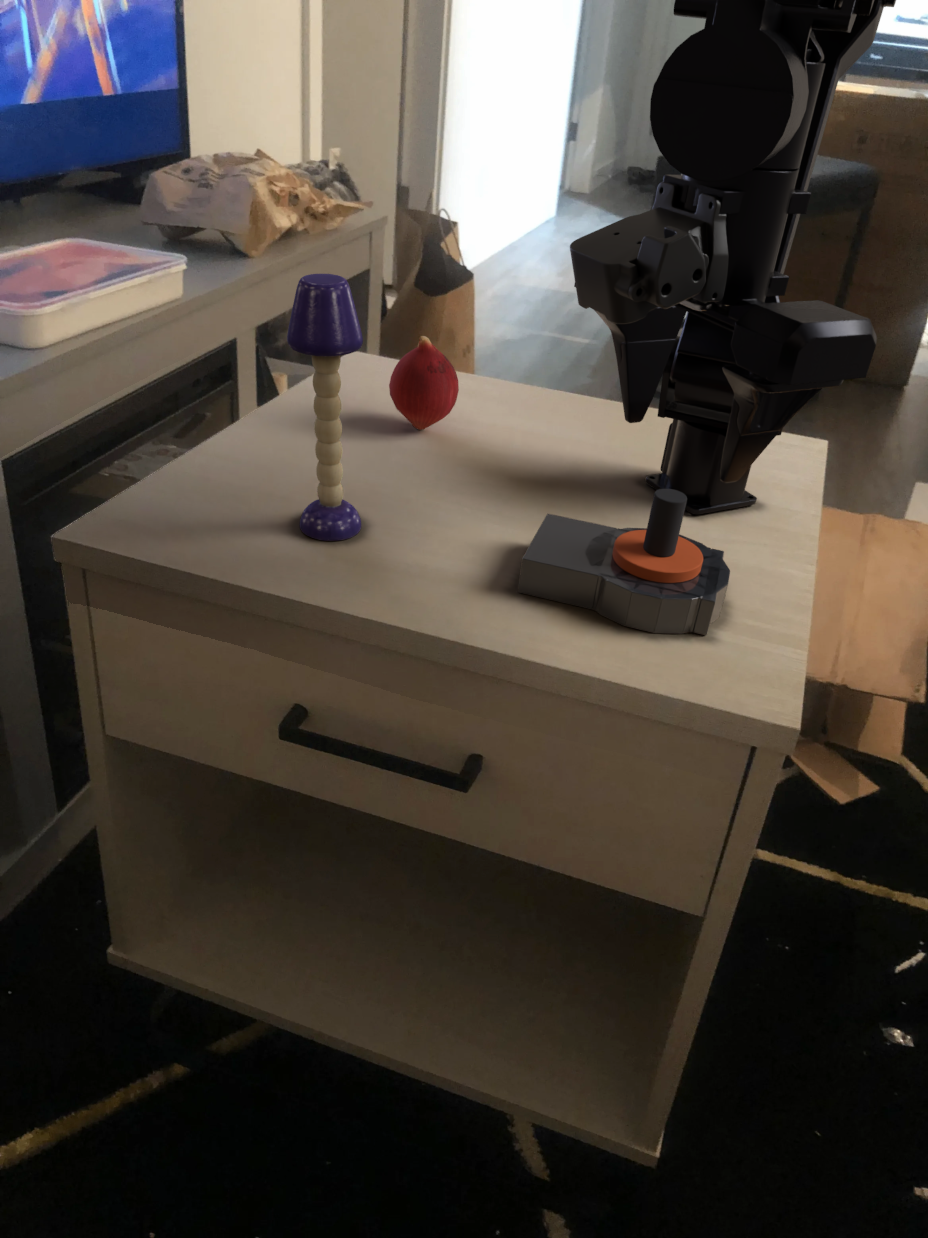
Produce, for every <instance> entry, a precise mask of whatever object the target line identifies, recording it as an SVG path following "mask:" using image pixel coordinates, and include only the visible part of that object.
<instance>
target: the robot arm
mask: <svg viewBox="0 0 928 1238" xmlns="http://www.w3.org/2000/svg"><path fill="white" fill-rule="evenodd" d="M896 2H897V0H674V4H673V15H674V16H675V17H681V18H690V19H702V20H705V21H704V27H703V28H702V29H700V30H698V31H697V32H696V31H695V32H694V33H692V34H691V35H689V36H688V37H687V38H686V39H685V40H684V41H682V42H681V43H680V44H678V46H676V47H675V49H674V50H673V51H672V52H671V54H670V56H669V57H668V58H667V59H666V60H665V62H664V64H663V65H662V67H661V70H660V72H659V74H658V76H657V77H656V80H655V81H654V84H653V86H652V92H651V96H650V104H649V111H650V112H649V121H650V126H651V132H652V136H653V139H654V141H655V143H656V146H657V148H658V150H659V152H660V154H661V155H662V156H663V157H664V159H665V160H666V162H667V163H668V164H669V165H670V166H671V167H672V168H674V169H675V170H677V172H679V173H680V174H663V178H662V181H661V182H660V183H659V184H658V185H657V187H656V193H655V197H654V203H653V205H652V208H651V209H650V210H647V211H644V212H642V213H639V214H633V215H629V216H627V217H626V216H625V217H624V218H622V219H619V220H616V221H614V222H612V223H611V224H608V225H606V226H603V227H601V228H599V229H597V230H595V231H594V230H593V231H592V232H589V233H588V234H585V235H584V236H583V235H582V236H581V237H579V238H577V239H574V240H573V241H572V242H571V243H570V244H569V251H570V257H571V265H572V271H573V278H574V288H575V290H576V298H577V303H578V306H580V307H581V308H583V309H585V310H588V309H592V310H593V312H595V313H596V314H597V316H598V317H599V318H600V320H602V321H603V322H604V323H605V325H606V326H607V327H608V329H609V331H610V334H611V339H612V343H613V347H614V348H613V349H614V352H615V358H616V359H615V360H616V364H617V371H618V378H619V386H620V387H619V388H620V392H621V394H620V395H621V400H622V401H621V402H622V408H623V414H624V420H625V421H626V422H627V423H628V424H637V423H641V422H642V421H643V419H644V418H645V416H646V414H647V412H648V409H649V408H650V405H651V404H652V401H653V399H654V397H655V394H656V392H657V389H658V386H659V384H660V382H661V385H660V392H659V400H658V402H659V403H658V409H657V418H662V419H665V418H667V419H671V420H672V422H671V423H670V424H669V426H668V431H667V434H666V435H667V436H666V440H665V445H664V450H663V455H662V458H661V464H660V473H655V474H648V475H646V476H645V480H644V482H645V483H646V484H647V485H648V486H649V487H651V488H653V489H654V490H655V491H657V490H659V489H673V490H677V491H680V492H682V493H684V494H685V495H686V496H687V502H686V507H685V511H687V512H688V513H690V514H692V515H704V514H710V513H714V512H715V513H716V512H720V511H725V510H731V509H737V508H744V507H749V506H753V505H756V504H757V500H758V498H757V496H756V495H754V494H752V493H750V492H749V491H747V490H746V488H747V483H748V479H749V476H750V472H751V468H752V465H753V464H754V462H756V460H757V459H758V458H759V457H760V455H762V453H763V452H764V451H765V450H766V449H767V448H768V446H769V445H770V444H771V443H772V441H773V440H774V439H775V438H776V437H777V436H782V433H783V429H784V427H786V425H787V424H788V423H789V422H790V421H791V420H792V419H793V418H794V417H795V416H796V415H797V414H798V413H799V412H800V411H801V410H802V409H803V408H804V407H805V406H806V405H807V404H808V403H809V402H810V401H811V400H812V399H813V398H814V397H815V396H816V395H817V394H818V393H820V391H821V390H823V389H826V388H835V387H836V388H837V387H840V386H841V385H842V384H843V382H844V381H846V380H855V379H866V378H867V375H868V372H869V369H870V366H871V363H872V360H873V357H874V353H875V351H876V347H877V341H878V336H877V333H876V331H875V329H874V326H873V323H872V321H871V319H870V318H869V317H866V316H863V315H860V314H857V313H855V312H853V311H850V310H847V309H845V308H841V307H839V306H836V305H833V304H831V303H828V302H825V301H823V300H799V301H797V300H796V301H780V297H785V296H786V292H787V288H788V283H789V280H790V275H787V274H784V273H785V270H786V266H787V263H788V261H789V256H790V252H791V248H792V246H793V242H794V239H795V235H796V231H797V228H798V224H799V221H800V217H801V215H807V212H808V207H809V204H810V200H811V196H812V192H810V191H808V189H809V185H810V182H811V178H812V176H813V171H814V167H815V164H816V161H817V157H818V154H819V151H820V146H821V144H822V140H823V137H824V133H825V129H826V127H827V122H828V118H829V114H830V111H831V108H832V104H833V101H834V98H835V94H836V91H837V87H838V84H839V80H840V79H841V78H842V77H843V76H844V75H845V74H846V73H847V72H848V71H849V70H850V68H852V67H853V65H854V64H855V63H856V62H857V61H858V60H860V58H862V56H863V55H864V54H865V53H866V52H867V51H868V50H869V49H870V48H871V47H872V45H873V44H874V41H875V38H876V35H877V31H878V28H879V25H880V21H881V18H882V16H883V15H882V14H883V12H884V8H886V7H887V8H894V7H895V5H896ZM683 322H684V323H683ZM681 328H682V330H681ZM680 330H681V332H680ZM679 332H680V335H679Z"/></svg>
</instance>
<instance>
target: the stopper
mask: <svg viewBox="0 0 928 1238" xmlns="http://www.w3.org/2000/svg"><path fill="white" fill-rule="evenodd" d="M686 502H687V496H686V495H685V494H684V493H682V492H680V491H677V490H673V489H659V490H655V491H654V493H653V498H652V502H651V506H650V512H649V515H648V516H649V517H648V520H647V526H646V528H647V530H635V531H630V532H626V533H624V534H622V535H620V536H619V537H618V538H617V539H616V540H615V543H614V548H613V558H614V561H615V562H616V564H617V565H618V566H619V567H621V568H622V569H623V570H625V571H626V572H628V573H630V574H632V575H634V576H636V577H639V578H642V579H645V580H649V581H654V582H660V583H680V582H685V581H689V580H691V579H693V578H695V577H696V576H697V575H698V574H699V573H700V571H701V567H702V563H703V555H702V552H701V551H700V550H699V548H698V547H697V546H696V545H694V544H693V543H691V542H690V541H688V540H686V539H684V538H682V537H680V536H679V534H680V532H681V528H682V524H683V520H684V515H685V511H686V510H685V507H686Z"/></svg>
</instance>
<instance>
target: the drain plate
mask: <svg viewBox="0 0 928 1238" xmlns="http://www.w3.org/2000/svg"><path fill="white" fill-rule="evenodd" d="M635 530H647V527H622V528H617V527H613V526H609V525H605V524H599V523H595V522H590V521H585V520H580V519H576V518H571V517H567V516H561V515H557V514H552V513H547V514H545V516H544V518H543V520H542V522H541V523H540V525H539V527H538V528H537V531H536V533H535V535H534V537H533V538H532V539H531V541H530V543H529V545H528V547H527V548H526V550H525V552H524V554H523V556H522V558H521V563H520V571H519V577H518V584H517V593H518V594H524V595H528V596H532V597H536V598H541V599H545V600H550V601H554V602H558V603H563V604H566V605H571V606H575V607H579V608H584V609H588V610H592V611H595V612H596V613H598V614H599V615H600V616H602V617H604V618H606V619H609V620H610V621H612V622H615V623H617V624H619V625H621V626H623V627H627V628H630V629H635V630H640V631H644V632H648V633H651V634H672V635H673V634H675V635H678V634H680V635H682V634H688V633H691V634H692V633H694V634H697V635H702V636H707V635H708V634H709V629H710V627H711V626H710V625H711V624H713V623H714V622H715V621H717V620H718V618H720V616H721V612H722V610H723V605H724V601H725V598H726V594H727V591H728V587H729V582H730V576H731V569H730V567H729V566H728V564H727V563H726V562H725V560H724V556H725V551H724V550H722V549H716V548H711V547H708V546H706V545H705V544H703V542H700V541H697V540H694V539H692V538H690V537H687V536H685V535H682V534H680V533H679V536H680V537H682V538H684V539H686V540H688V541H690V542H691V543H693V544H694V545H696V546H697V547H698V548H699V550H700V551H701V552H702V555H703V563H702V567H701V571H700V573H699V574H698V575H697V576H696V577H695V578H693V579H691V580H689V581H685V582H680V583H660V582H654V581H649V580H645V579H642V578H639V577H636V576H634V575H632V574H630V573H628V572H626V571H625V570H623V569H622V568H621V567H619V566H618V565H617V564H616V562H615V561H614V558H613V548H614V543H615V540H616V539H617V538H618V537H619V536H620V535H622V534H624V533H626V532H630V531H635Z"/></svg>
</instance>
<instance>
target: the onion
mask: <svg viewBox="0 0 928 1238" xmlns="http://www.w3.org/2000/svg"><path fill="white" fill-rule="evenodd" d="M418 340H419V341H418V344H417V346H416V347H414V348H413V349H412V350H410V351H409V352H407V353H405V354H404V355H403V356H402V357H401V358H400V359H399V360H398V362H397V363H396V365H395V366H394V369H393V371H392V373H391V376H390V380H389V384H388V388H389V396H390V398H391V401H392V403H393V405H394V406H395V408H396V410H397V411H398V412H399V413H400V414H401V415H402V416H403V417H404V418H405V419H406V420H407V421H408V422H409V423H410V424H411V425H412V426H413V427H414V428H415V429H417V430H420V431H422V430H425V429H427V428H429V427H431V426H433V425H434V424H436V423H438V422H440V421H442V420H443V419H445V417H447V416H448V415H449V414H451V412H452V411H453V408H454V407H455V405H456V402H457V399H458V395H459V390H460V387H459V378H458V374H457V371H456V370H455V366H454V365H453V364H452V363H451V361H450V360H449V359H448V357H447V356H445V354H443V353H442V351H440V350H439V349H438V348H437V347H436V346H435V345H434V344H433V343H432V342H431V340H430V338H429V337H427V336H426V335H420V336H419V337H418Z"/></svg>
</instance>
